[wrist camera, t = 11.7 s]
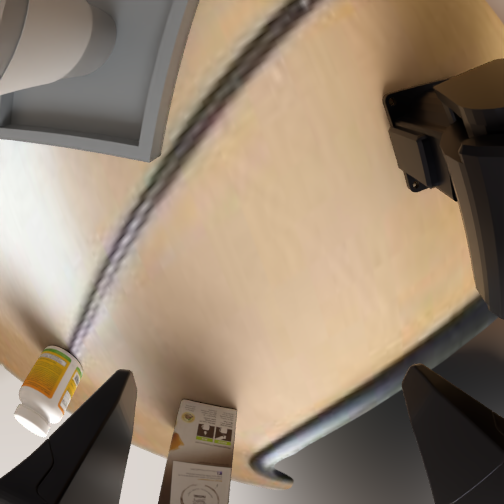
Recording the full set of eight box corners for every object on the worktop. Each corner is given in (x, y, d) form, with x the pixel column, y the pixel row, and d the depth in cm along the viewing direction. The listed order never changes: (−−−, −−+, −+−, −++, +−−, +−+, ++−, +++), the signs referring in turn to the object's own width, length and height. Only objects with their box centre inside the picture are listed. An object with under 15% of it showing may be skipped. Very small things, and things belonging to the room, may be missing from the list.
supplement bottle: (37, 346, 28) (0, 408, 20) (62, 340, 27) (21, 410, 18) (66, 377, 30) (35, 438, 22) (92, 374, 29) (61, 444, 21)
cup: (126, 90, 15) (-37, 114, 5) (43, 99, 15) (-103, 142, 5) (139, -15, 12) (9, -88, 1) (53, 5, 12) (-84, -10, 1)
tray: (215, -44, 11) (209, -57, 10) (160, 155, 18) (149, 162, 16) (43, -30, 10) (28, -35, 8) (8, 132, 17) (-8, 137, 15)
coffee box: (179, 396, 30) (149, 534, 15) (238, 408, 30) (226, 548, 16) (175, 431, 34) (153, 540, 20) (224, 441, 34) (212, 551, 20)
